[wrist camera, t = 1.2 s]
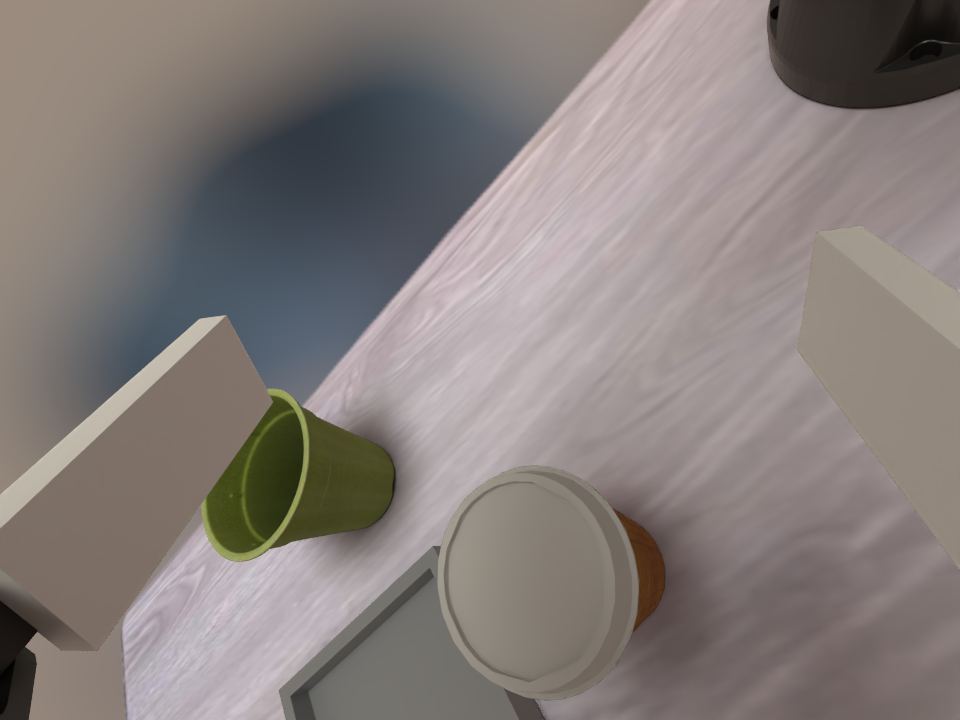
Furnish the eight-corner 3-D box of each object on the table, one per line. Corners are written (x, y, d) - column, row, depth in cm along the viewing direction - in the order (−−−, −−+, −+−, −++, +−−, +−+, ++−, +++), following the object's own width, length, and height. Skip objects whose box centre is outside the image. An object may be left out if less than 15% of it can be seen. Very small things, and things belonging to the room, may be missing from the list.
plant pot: (302, 525, 47) (180, 518, 38) (350, 405, 48) (243, 372, 40) (385, 586, 40) (258, 595, 31) (438, 443, 41) (331, 413, 32)
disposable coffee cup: (538, 638, 32) (416, 673, 23) (546, 484, 35) (441, 459, 26) (698, 676, 27) (627, 743, 17) (693, 492, 30) (629, 464, 20)
